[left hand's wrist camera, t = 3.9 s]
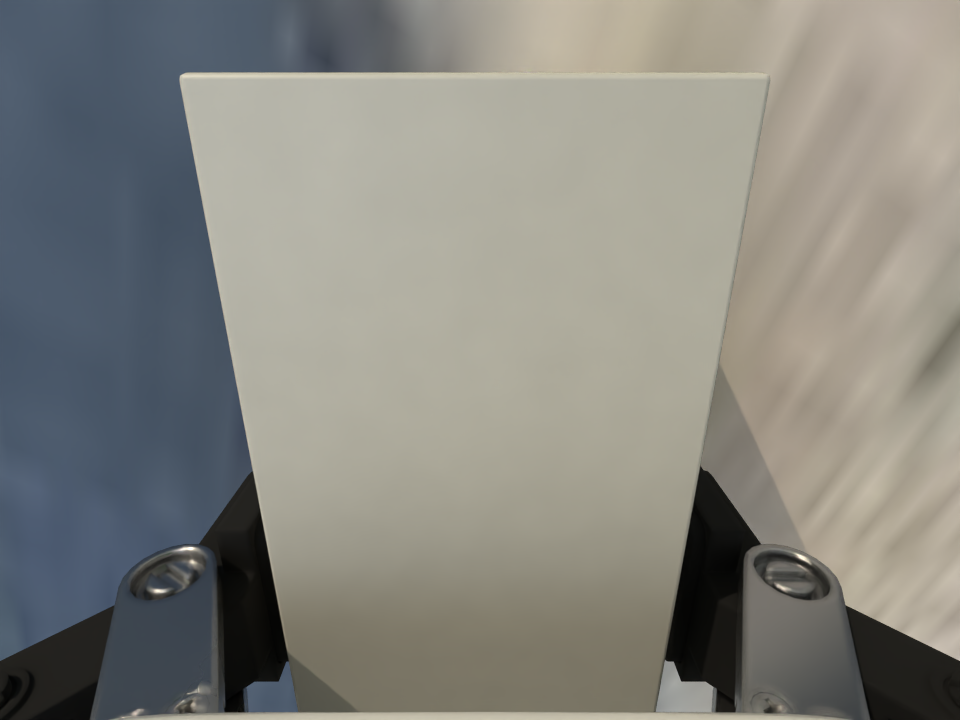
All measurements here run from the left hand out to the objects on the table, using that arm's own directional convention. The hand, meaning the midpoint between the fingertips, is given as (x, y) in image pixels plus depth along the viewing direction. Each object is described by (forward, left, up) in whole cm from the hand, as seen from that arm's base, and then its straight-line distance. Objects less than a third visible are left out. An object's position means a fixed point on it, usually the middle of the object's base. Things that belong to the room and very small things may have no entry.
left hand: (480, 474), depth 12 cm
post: (+3, +29, -2) cm, 29 cm away
